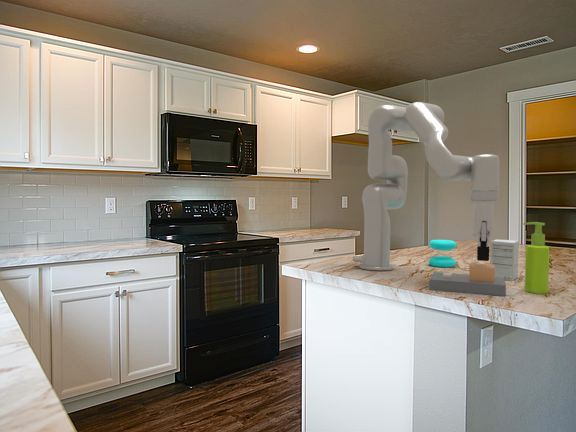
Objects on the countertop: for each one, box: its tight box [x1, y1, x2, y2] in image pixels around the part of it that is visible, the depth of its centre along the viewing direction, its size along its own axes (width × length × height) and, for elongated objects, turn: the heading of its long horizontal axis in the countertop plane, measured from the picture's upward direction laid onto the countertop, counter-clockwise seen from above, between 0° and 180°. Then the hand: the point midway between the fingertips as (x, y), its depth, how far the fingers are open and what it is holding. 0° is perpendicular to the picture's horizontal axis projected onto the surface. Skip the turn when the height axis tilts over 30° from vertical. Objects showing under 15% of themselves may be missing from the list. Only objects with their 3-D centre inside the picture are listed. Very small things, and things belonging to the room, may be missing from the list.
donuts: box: [428, 239, 457, 268], centre depth 174 cm, size 10×10×10 cm
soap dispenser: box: [522, 221, 551, 295], centre depth 128 cm, size 6×7×20 cm
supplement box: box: [489, 238, 520, 282], centre depth 149 cm, size 7×7×13 cm
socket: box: [428, 271, 507, 297], centre depth 131 cm, size 20×14×4 cm
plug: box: [468, 262, 495, 282], centre depth 130 cm, size 7×7×7 cm
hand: (483, 260), depth 129 cm, fingers closed
